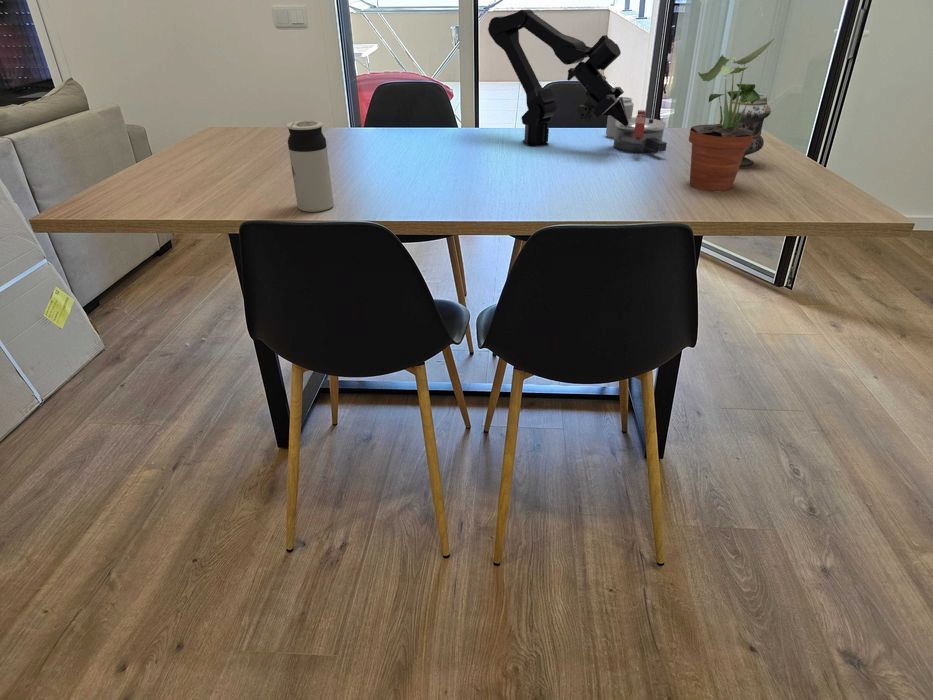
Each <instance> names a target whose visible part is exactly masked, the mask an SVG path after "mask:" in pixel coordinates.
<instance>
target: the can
mask: <svg viewBox="0 0 933 700" xmlns="http://www.w3.org/2000/svg"><path fill="white" fill-rule="evenodd" d="M621 97H623V102H624V106H625V110H626V114H627V118H633V113H634V102H633V101H632V100H633V98H632V97H627V96H619V97H618V98H617V99H620V98H621ZM606 121H607V122H606V129H605V135H606V137H609V138H608V139H611V140H612V139H613V140H614V137H615V129H616V126H615V123H616V119H615V118H613V117H612V116H610V115H607V120H606Z"/></svg>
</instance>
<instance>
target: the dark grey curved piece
mask: <svg viewBox="0 0 933 700" xmlns="http://www.w3.org/2000/svg"><path fill="white" fill-rule="evenodd" d="M664 130H665V129H663V130H660V131H652V132H644V134H643V138H641V137H633V136H634V131H629V130H623V129H620V128H617V127H616V129H615V137H614V139H613V149H614V150H616V151H619V152H621V151H622V152H621V153H628V154H635V153H637V154H638V155H639V154H641V155H645V154H647V155H648V154H656V153H658V151H659V152H665V151H666V149H667V144H668V143H667V142H665V141H663V136H664ZM637 154H636V155H637Z"/></svg>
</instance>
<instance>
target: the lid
mask: <svg viewBox="0 0 933 700" xmlns="http://www.w3.org/2000/svg"><path fill="white" fill-rule="evenodd" d="M646 115H647V110H645V109H643V110H642V109H641V110H639V109H638V110H637V115H636V117H632V118H628V122H629V124H628V125H627V126H624V125H623V124H622V123H620V122H619V121H618V120H616V123H615V126H616V127H617V128H620V129H623V130H629V131H634V136H633V137H641V138H643V134H644V132H652V131H660V130H663V129H664V130H665V128H666V122H665V121H663V120H660V119H656V118H649V117H647V116H646Z"/></svg>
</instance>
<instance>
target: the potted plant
mask: <svg viewBox="0 0 933 700" xmlns="http://www.w3.org/2000/svg"><path fill="white" fill-rule="evenodd" d="M774 40H775V39H774V38H773V39H771V40H769V41H768V42H767V43H765V44H764V45H762V46H760V47H759V48H757V49H756V50H755V51H753V52H752V53H750V54H748V55H746V56H745V57H742V58H741V59H738V58H737V57H736V56H733V57H731V58H726V57H725V56H724V55H723V54H721V56H719V58H718V60H717V62H716V63H715V65H714V66H713V67H712V68H711V69H710V70H709V71H707V72H704V73H700V72H699V71H698V72H697V74H698V76H699V77H700V78H701V80H702V81H704V82H711V81H712V80H714V79H715V78H716V77H717V76H718V75H719V74H721V75H723V76H728V75H731V74H732V75H734V74H739V73H741V72H742V73H741V77H740V81H739V82H740V83H737V84H736V86H737V88H738V90H735V91H734V76H732V78H731V90H730V91H727V80H725V83H724V84H725V86H724V87H725V88H724V94H722V93H720V94H719V93H711V94H709V97H708V103H711V102H712V101H713V100H714V99H715V100H716V99H717V98H719V103H721V97H722V96H724V106H723V107H722V106H721V105H719V111H720V113H719V114H720V120H719V123H714V124H699V125H694V126H691V127H690V129H689V136H688V142H689V143H691V152H690V153H691V156H690V172H689V185H690V186H692V187H694V188H695V189H697V190H699V189H701V190H700V191H704V190H706V191H705V192H714V191H720V192H725V191H728V190H729V189H732V187H733V185H734V182H735V180H736V177H737V174H738V172H739V169H740V168H739V167H740V164H741V161H742V159H743V156H744V153H745V151H746V148H747V147H750V146H751V142H752V139H753V135H754V132H753V131H752V130H749V129H746V128H742V127H737V126H736V125H737V123H738V122H739V121H740V120H741V117H742V115H743V113H744V110H745V108H746V106H747V104H748V102H747V101H749V99H750V102H751V104H753V103H754V102H755V101H757V100H759V99H760V97H759V95H758V93H759V92H757V91H756V90H755V89H756V84H755V83H753V84H752V83H750V84H749V83H743V76H744V72H745V70H746V69H748V68H749V67H751V65H750V66H748V67H746V64H748V63H750V62H751V61H754V59H756V58H758V57H759V56H760V55H761V54H762V53H763V52H764V51H765V50H766V49H767V48H768V47H769V46H770V45H771V43H772V42H773V41H774ZM737 59H738V60H737ZM730 60H731V61H733V62H732V64H736V65H741V66H743V67H740V66H737V67H733V66H729V65H727V64H728V62H730ZM727 94H728V96H729V98H730V99H729V102H730V106H729V111H728V99H727V98H728V96H727ZM742 95H743V96H742ZM739 96H741V98H740V101H739V105H738V110H737V115H736V119H735V123H734V118H735V114H736V109H737V104H738V99H739ZM736 97H737V98H736ZM735 99H736V102H735V106H734V110H733V112H732V100H735ZM740 102H743V103H745V102H747V104H746V106H745V108H744V110H743V112H742V115H741V116H740V117H739V118H738V112H739V107H740ZM723 108H724V112H723ZM737 118H738V120H737Z"/></svg>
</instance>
